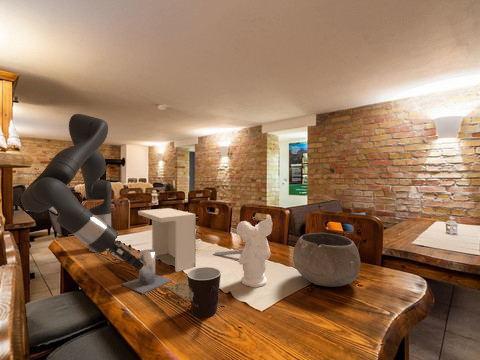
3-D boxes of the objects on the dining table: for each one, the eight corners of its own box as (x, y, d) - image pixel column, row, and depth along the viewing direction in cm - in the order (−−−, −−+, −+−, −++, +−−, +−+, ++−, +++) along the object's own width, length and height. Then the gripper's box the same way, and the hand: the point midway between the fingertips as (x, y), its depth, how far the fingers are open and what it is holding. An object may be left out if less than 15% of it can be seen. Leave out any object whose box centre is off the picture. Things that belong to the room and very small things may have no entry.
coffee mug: (189, 303, 68) (189, 267, 68) (220, 302, 69) (220, 266, 68) (183, 329, 56) (183, 286, 56) (221, 327, 57) (221, 284, 57)
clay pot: (356, 274, 88) (356, 233, 88) (365, 303, 68) (365, 249, 68) (296, 267, 95) (296, 229, 95) (288, 291, 75) (288, 242, 75)
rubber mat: (122, 284, 79) (122, 283, 79) (151, 274, 88) (151, 272, 88) (142, 294, 73) (142, 292, 73) (171, 281, 82) (171, 280, 82)
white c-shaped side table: (138, 258, 105) (138, 210, 105) (169, 252, 114) (169, 208, 114) (160, 276, 87) (160, 217, 86) (195, 266, 96) (195, 214, 95)
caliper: (256, 260, 104) (256, 245, 104) (255, 261, 103) (255, 246, 103) (213, 254, 112) (213, 240, 112) (212, 255, 111) (212, 241, 111)
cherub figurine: (234, 284, 80) (233, 217, 80) (246, 271, 92) (245, 212, 91) (270, 290, 76) (269, 219, 76) (278, 275, 87) (277, 213, 87)
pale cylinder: (135, 282, 80) (136, 252, 80) (149, 277, 84) (149, 248, 84) (145, 286, 77) (145, 255, 77) (158, 281, 81) (158, 251, 81)
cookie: (196, 277, 86) (196, 275, 86) (217, 289, 78) (217, 286, 78) (164, 288, 78) (164, 285, 78) (184, 302, 69) (184, 299, 69)
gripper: (112, 226, 67) (153, 259, 75) (100, 219, 78) (138, 249, 86) (90, 249, 64) (135, 281, 71) (81, 239, 75) (121, 267, 82)
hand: (136, 263), depth 78 cm, fingers open, 8 cm apart
